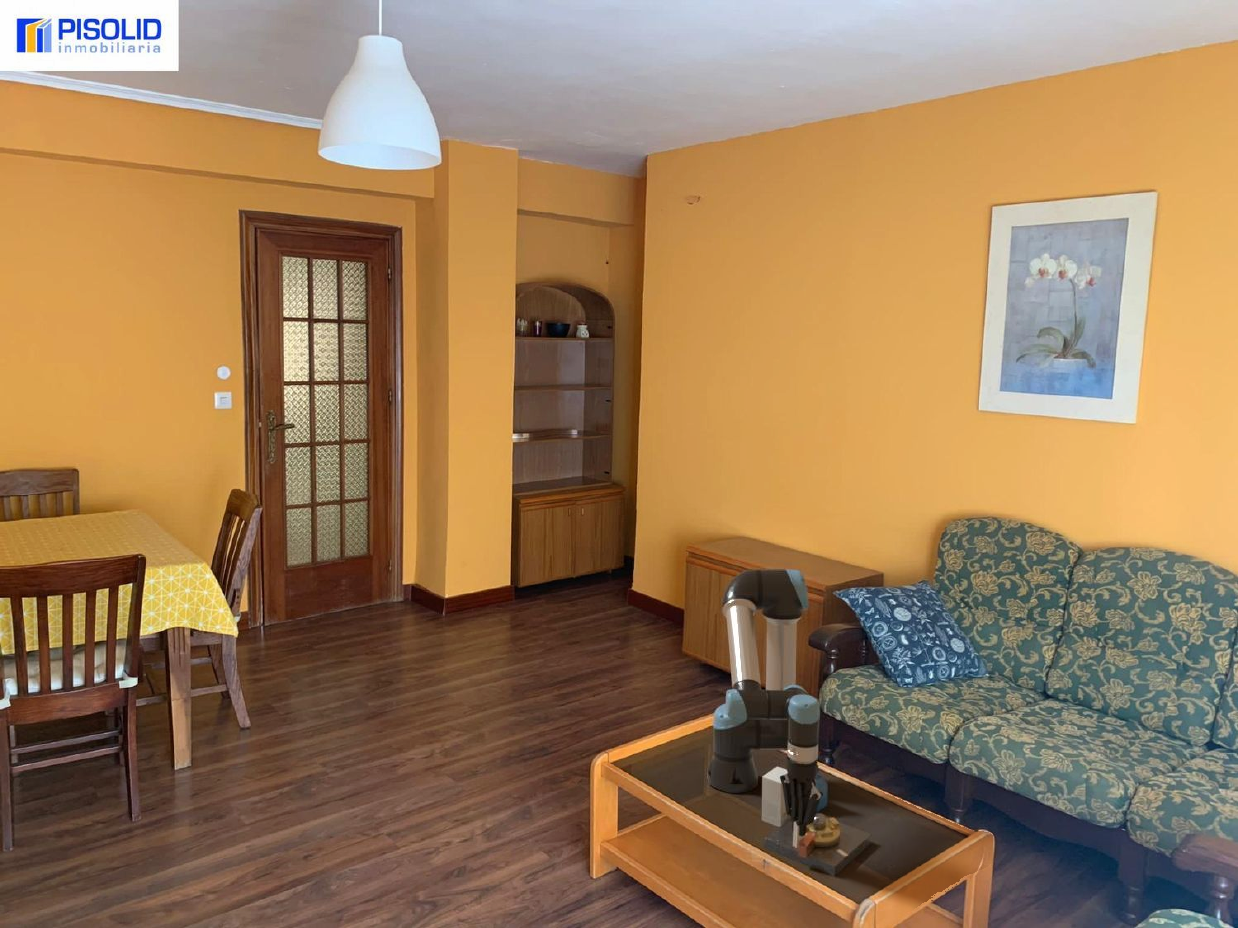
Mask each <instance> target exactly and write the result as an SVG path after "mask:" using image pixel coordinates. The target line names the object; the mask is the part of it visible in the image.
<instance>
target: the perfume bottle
mask: <svg viewBox="0 0 1238 928" xmlns="http://www.w3.org/2000/svg"><path fill="white" fill-rule="evenodd" d="M819 774H820V770H819V765H818V764H817V774H816V776H815V783H816V789H817V790H818V792H822V793H823V797H822V798H821V799H820V801H819V804H818V808H817V812H816V813H819V812H820V811H821V810H823V809H824V808H825V807H827V806H828V790H829V789H828V786H829V785H828V782H826V780H825V778H824V777H823V776H822V775H819ZM811 793H812V792H811ZM810 798H811V797H810ZM810 798H809V800H810Z"/></svg>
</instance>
